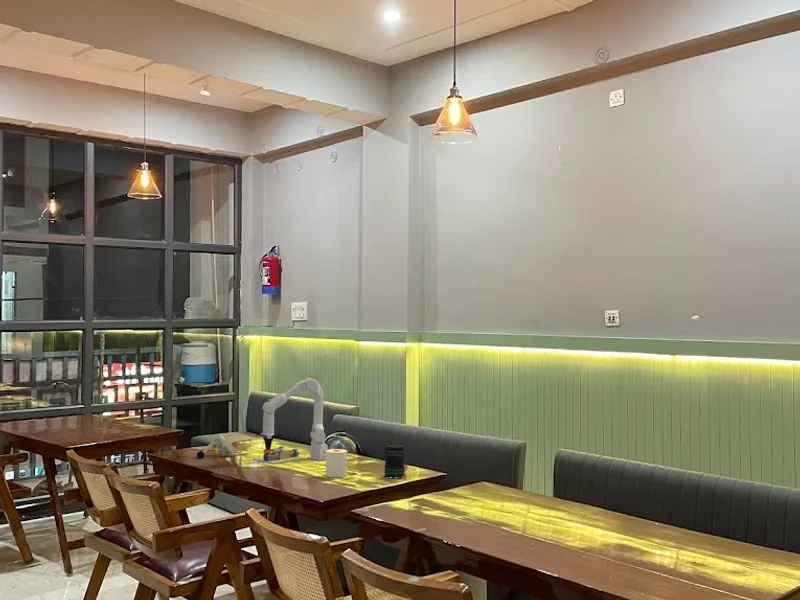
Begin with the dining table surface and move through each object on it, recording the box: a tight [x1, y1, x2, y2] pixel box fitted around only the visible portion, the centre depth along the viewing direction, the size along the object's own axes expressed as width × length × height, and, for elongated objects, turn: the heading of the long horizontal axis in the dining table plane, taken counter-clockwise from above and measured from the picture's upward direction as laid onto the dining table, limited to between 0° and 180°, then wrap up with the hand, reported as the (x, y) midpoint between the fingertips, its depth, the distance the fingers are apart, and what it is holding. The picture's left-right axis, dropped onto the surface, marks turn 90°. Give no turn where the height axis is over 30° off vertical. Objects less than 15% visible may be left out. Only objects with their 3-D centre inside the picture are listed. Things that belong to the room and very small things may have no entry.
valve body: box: [262, 448, 300, 461], centre depth 413 cm, size 6×21×5 cm, turn 138°
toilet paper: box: [325, 448, 348, 478], centre depth 374 cm, size 10×10×12 cm
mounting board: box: [252, 455, 305, 465], centre depth 415 cm, size 16×22×1 cm
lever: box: [262, 445, 287, 454], centre depth 410 cm, size 14×4×2 cm, turn 140°
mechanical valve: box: [196, 433, 238, 460], centre depth 418 cm, size 10×18×15 cm
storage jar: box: [383, 443, 406, 479], centre depth 374 cm, size 10×10×15 cm
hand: (268, 450), depth 409 cm, fingers closed, pressing on lever
